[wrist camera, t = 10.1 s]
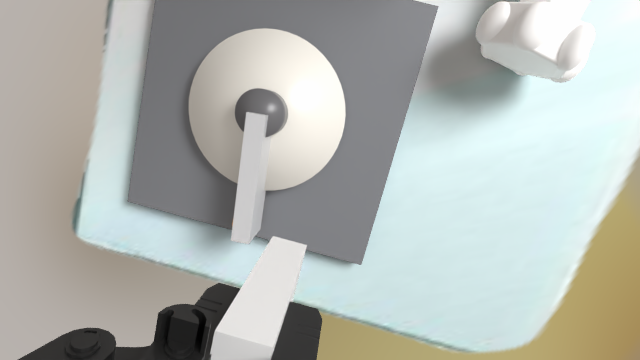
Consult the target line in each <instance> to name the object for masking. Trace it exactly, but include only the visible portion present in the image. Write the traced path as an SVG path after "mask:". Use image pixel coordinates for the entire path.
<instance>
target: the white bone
mask: <svg viewBox="0 0 640 360" xmlns="http://www.w3.org/2000/svg"><path fill="white" fill-rule="evenodd" d="M590 1H591V0H520V2H506V1H500V2H497V3H495V4H493V5H492V6H490V7H489V8H488V9H487V10H486V11H485V12H484V14H483V15H482V17H481V18H480V20H479V23H478V25H477V29H476V39H477V41H478V42H479V43H480V44H481V54H482V56H483V57H484V58H487V59H491V60H493V61H495V62H497V63H499V64H501V65H503V66H505V67H507V68H509V69H510V70H512V71H514V72H515V73H516V74H518V75H521V76H525V75H531V76H536V77H541V78H546V79H550V80H552V81H554V82H560V83H561V82H566V81H569V80H571V79H573V78H574V77H575V76H576V75H577V74H578V73H580V71H581V70H582V69H583V67H584V66H585V64H586V62H587V59H588V56H589V51H590V49H591V47H592V44H593V42H594V39H595V29H594V27H593V26H592V25H591V24H589V23H584V22H583V21H581V20H580V18H581V16H582V15H583V13H584V11H585V9H586V8H587V6H588V4H589V3H590Z"/></svg>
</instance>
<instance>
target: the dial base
mask: <svg viewBox="0 0 640 360" xmlns="http://www.w3.org/2000/svg"><path fill="white" fill-rule="evenodd" d="M437 9H438V6H434V5H430V4H426V3H422V2H418V1H414V0H155V6H154V14H153V21H152V28H151V35H150V43H149V50H148V57H147V64H146V72H145V79H144V86H143V93H142V101H141V108H140V115H139V122H138V130H137V137H136V144H135V151H134V159H133V166H132V173H131V180H130V188H129V195H128V202H131V203H135V204H139V205H142V206H146V207H150V208H153V209H157V210H161V211H164V212H168V213H172V214H175V215H179V216H183V217H187V218H190V219H194V220H198V221H201V222H205V223H209V224H212V225H216V226H220V227H223V228H227V229H231V230H232V227H233V218H234V210H235V202H236V194H237V185H238V184H237V183H235V182H233V181H231V180H230V179H228V178H226V177H225V176H224V175H222V174H221V173H219V172H218V171H217V170H216V169H215V168H214V167H213V166H212V165H211V164H210V163H209V161H208V160H207V159H206V158H205V156H204V155H203V153H202V152H201V150H200V149H199V147H198V145H197V143H196V141H195V138H194V135H193V132H192V129H191V124H190V119H189V95H190V89H191V85H192V82H193V79H194V76H195V74H196V72H197V70H198V68H199V66H200V65H201V63H202V61H203V60H204V59H205V57H206V56H207V55H208V54H209V52H210V51H212V50H213V49H214V48H215V47H216V46H217V45H218V44H220V43H221V42H222V41H224V40H225V39H227V38H229V37H231V36H233V35H235V34H237V33H240V32H243V31H247V30H252V29H263V28H268V29H278V30H282V31H286V32H289V33H292V34H294V35H297V36H299V37H301V38H302V39H304V40H306V41H308V42H309V43H310V44H312V45H313V46H314V47H316V48H317V49H318V50H319V51H320V52H321V53H322V54H323V55H324V56H325V58H326V59H327V60H328V61H329V63H330V64H331V66H332V67H333V69H334V71H335V72H336V74H337V76H338V79H339V81H340V83H341V86H342V90H343V94H344V99H345V113H346V116H345V125H344V130H343V134H342V137H341V140H340V142H339V145H338V147H337V149H336V151H335V153H334V154H333V156H332V158H331V159H330V160H329V162H328V163H327V164H326V165H325V166H324V167H323V168H322V169H321V170H320V171H319V172H318V173H317V174H316V175H314V176H313V177H312V178H310V179H308V180H307V181H305V182H303V183H301V184H299V185H296V186H294V187H290V188H287V189H282V190H268V191H266V193H265V200H264V207H263V215H262V222H261V229H260V230H259V231H258V233H257V234H256V235H255V236H256V237H260V238H264V239H267V240H271V238H272V237H273V236H275V237H279V238H282V239H286V240H290V241H294V242H297V243H301V244H305V245H307V247H306V250H308V251H312V252H315V253H319V254H323V255H326V256H330V257H334V258H337V259H341V260H345V261H348V262H352V263H356V264H359V265H361V264H362V261H363V257H364V254H365V250H366V247H367V244H368V240H369V237H370V234H371V230H372V227H373V224H374V220H375V217H376V214H377V210H378V207H379V204H380V200H381V197H382V194H383V190H384V187H385V184H386V180H387V177H388V173H389V170H390V167H391V163H392V160H393V157H394V153H395V150H396V147H397V143H398V140H399V137H400V133H401V130H402V127H403V123H404V120H405V117H406V113H407V110H408V107H409V103H410V100H411V96H412V93H413V90H414V86H415V83H416V80H417V76H418V73H419V70H420V66H421V63H422V60H423V56H424V53H425V50H426V46H427V43H428V40H429V36H430V33H431V30H432V26H433V23H434V19H435V16H436V13H437Z"/></svg>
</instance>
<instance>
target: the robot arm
mask: <svg viewBox="0 0 640 360" xmlns="http://www.w3.org/2000/svg"><path fill="white" fill-rule="evenodd" d="M306 247H307V245H305V244H301V243H297V242H294V241H290V240H286V239H282V238H279V237H275V236H273V237H272V238H271V240H270V242H269V243H268V245H267V246H266V248H265V250H264V251H263V253H262V255H261V256H260V258H259V260H258V261H257V263H256V264H255V266H254V268H253V269H252V271H251V273H250V274H249V276H248V277H247V279H246V281H245V282H244V284H243V286H242V287H241V289H239V288H236V287H232V286H229V285H225V284H221V283H218V284H216V285H214V286H212V287H210V288H208V289H207V290H206V291H205V292H204V294H203V295H202V296H201V298H200V300H198V301H197V303H196V304H195V305H190V304H179V305H178V304H177V305H173V306H170V307H166V308H165V309H163V310H162V311H160V312H159V314H158V319H157V325H156V331H155V337H154V342H153V343H152V344H151V345H150V346H146V347H116V341H115V337H114V336H113V335H112V334H111V333H110V332H109V331H106V330H103V329H99V328H84V329H78V330H74V331H71V332H69V333H66V334H64V335H62V336H60V337H58V338H56V339H55V340H53V341H51V342H49V343H47V344H46V345H44V346H42V347H40V348H38V349H37V350H35V351H33V352H31V353H29V354H27V355H26V356H24V357H22V358H20V359H19V360H316V359H317V352H318V345H319V338H320V331H321V325H322V318H321V315H320V313H319V311H318V309H316V308H312V307H309V306H305V305H301V304H298V303H294V302H293V298H294V294H295V290H296V286H297V282H298V278H299V275H300V271H301V267H302V263H303V259H304V255H305V251H306Z"/></svg>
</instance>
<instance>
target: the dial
mask: <svg viewBox="0 0 640 360" xmlns="http://www.w3.org/2000/svg"><path fill="white" fill-rule="evenodd" d="M345 116H346V113H345V99H344V94H343V90H342V86H341V83H340V81H339V79H338V76H337V74H336V72H335V71H334V69H333V67H332V66H331V64H330V63H329V61H328V60H327V59H326V58H325V56H324V55H323V54H322V53H321V52H320V51H319V50H318V49H317V48H316V47H314V46H313V45H312V44H310V43H309V42H308V41H306V40H304V39H302V38H301V37H299V36H297V35H294V34H292V33H289V32H286V31H282V30H278V29H268V28H263V29H252V30H247V31H243V32H240V33H237V34H235V35H233V36H231V37H229V38H227V39H225V40H224V41H222V42H221V43H220V44H218V45H217V46H216V47H215V48H214V49H213V50H212V51H210V52H209V54H208V55H207V56H206V57H205V59H204V60H203V61H202V63H201V65H200V66H199V68H198V70H197V72H196V74H195V76H194V79H193V82H192V85H191V89H190V95H189V119H190V124H191V129H192V132H193V135H194V138H195V141H196V143H197V145H198V147H199V149H200V150H201V152H202V153H203V155H204V156H205V158H206V159H207V160H208V161H209V163H210V164H211V165H212V166H213V167H214V168H215V169H216V170H217V171H218V172H219V173H221V174H222V175H224V176H225V177H226V178H228V179H230V180H231V181H233V182H235V183H237V184H238V185H237V194H236V202H235V210H234V218H233V227H232V235H231V241H235V242H240V243H245V244H249V243H250V242H251V241H252V239H253V238H254V237H255V235H256V234H257V233H258V231H259V230H260V229H261V222H262V215H263V207H264V200H265V193H266V191H268V190H282V189H287V188H290V187H294V186H296V185H299V184H301V183H303V182H305V181H307V180H308V179H310V178H312V177H313V176H314V175H316V174H317V173H318V172H319V171H320V170H321V169H322V168H323V167H324V166H325V165H326V164H327V163H328V162H329V160H330V159H331V158H332V156H333V154H334V153H335V151H336V149H337V147H338V145H339V142H340V140H341V137H342V134H343V130H344V125H345Z"/></svg>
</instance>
